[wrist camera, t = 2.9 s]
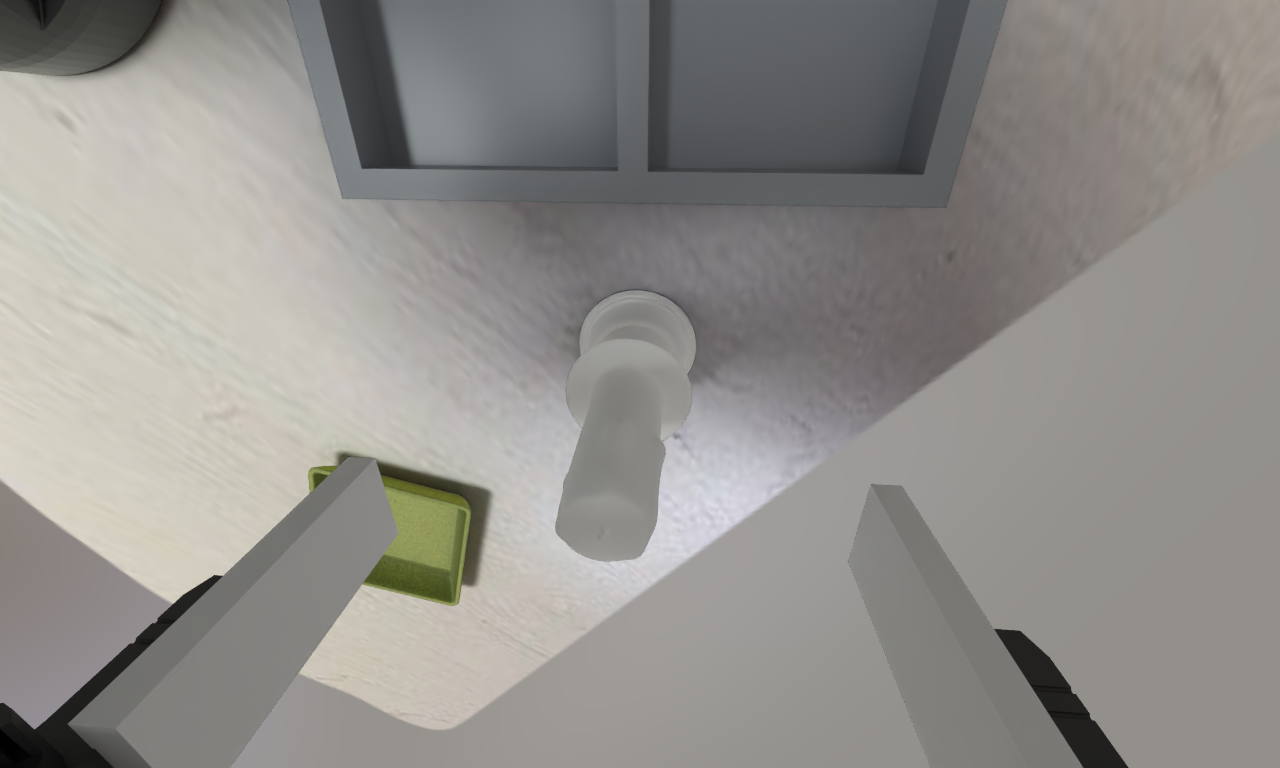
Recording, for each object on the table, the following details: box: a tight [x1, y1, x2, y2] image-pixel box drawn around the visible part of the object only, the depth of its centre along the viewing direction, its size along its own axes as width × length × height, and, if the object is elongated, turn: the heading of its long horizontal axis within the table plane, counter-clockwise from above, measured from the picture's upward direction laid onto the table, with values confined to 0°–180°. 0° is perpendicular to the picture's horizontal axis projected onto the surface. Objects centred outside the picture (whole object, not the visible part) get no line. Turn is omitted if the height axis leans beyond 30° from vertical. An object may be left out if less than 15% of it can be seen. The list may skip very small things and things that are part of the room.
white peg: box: [555, 290, 696, 561], centre depth 16 cm, size 5×5×12 cm
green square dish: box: [308, 466, 471, 606], centre depth 28 cm, size 9×9×2 cm
